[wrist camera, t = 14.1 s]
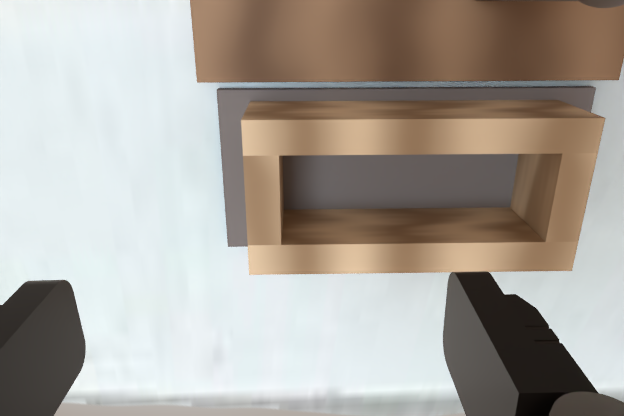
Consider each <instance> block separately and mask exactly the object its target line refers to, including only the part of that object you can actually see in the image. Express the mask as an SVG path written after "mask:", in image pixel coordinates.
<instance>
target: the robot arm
mask: <svg viewBox="0 0 624 416" xmlns="http://www.w3.org/2000/svg"><path fill="white" fill-rule="evenodd" d="M443 347H444V355H445V360H446V363H447V366H448V369H449V372H450V374H451V377H452V379H453V382H454V385H455V387H456V390H457V393H458V395H459V398H460V401H461V403H462V406H463V409H464V411H465V414H466V416H624V403H623V402H622V401H619V400H617V399H615V398H612V397H609V396H606V395H603V394H599V393H598V392H597V391H596V389H595V388H594V387H593V385H592V384H591V382H590V381H589V380H588V378H587V377H586V376H585V374H584V373H583V372H582V370H581V369H580V367H579V366H578V365H577V363H576V362H575V361H574V359H573V358H572V357H571V355H570V354H569V352H568V351H567V350H566V348H565V347H564V346H563V344H562V343H559V339H558V337H557V336H556V335H555V333H554V332H553V331H552V329H549V325H548V324H547V322H546V321H545V320H544V318H543V317H542V316H541V314H540V313H539V311H538V310H537V309H536V308H535V307H533V306H532V305H530V304H529V303H528V302H526V301H525V300H523V299H522V298H520V297H519V296H517V295H516V294H510V295H504V294H503V292H502V291H501V289H500V288H499V286H498V285H497V283H496V282H495V280H494V279H493V277H492V275H491V274H490V273H489V272H487V271H479V272H452V273H451V274H450V276H449V279H448V287H447V298H446V308H445V319H444V330H443ZM84 359H85V339H84V335H83V330H82V326H81V322H80V318H79V313H78V309H77V305H76V301H75V296H74V292H73V289H72V286H71V285H70V283H69V282H68V281H66V280H42V281H27V282H25V283H24V284H23V285H22V286H21V287H20V288H19V289H18V290H17V291H16V292H15V293H14V294H13V295H12V296H11V297H10V298H9V299H8V300H7V301H6V302H5V303H4V304H3V305H0V416H54V414H55V412H56V411H57V409H58V407H59V406H60V404H61V402H62V401H63V399H64V398H65V396H66V394H67V393H68V391H69V389H70V388H71V386H72V384H73V383H74V381H75V379H76V378H77V376H78V374H79V373H80V371H81V369H82V366H83V363H84Z"/></svg>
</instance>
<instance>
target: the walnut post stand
mask: <svg viewBox="0 0 624 416" xmlns="http://www.w3.org/2000/svg"><path fill="white" fill-rule="evenodd" d="M190 5H191V17H192V28H193V40H194V52H195V63H196V75H197V82H355V81H530V80H619V77H620V72H621V68H622V63H623V59H624V0H190Z"/></svg>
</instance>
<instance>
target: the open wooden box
mask: <svg viewBox="0 0 624 416" xmlns="http://www.w3.org/2000/svg"><path fill="white" fill-rule="evenodd" d="M604 122H605V118H604V117H601V116H599V115H596V114H593V113H591V112H588V111H586V110H583V109H580V108H578V107H575V106H572V105H570V104H567V103H565V102H562V101H559V100H420V101H250V103H249V105H248V107H247V109H246V111H245V113H244V115H243V117H242V119H241V129H242V148H243V166H244V185H245V203H246V222H247V241H248V259H249V275H262V274H342V273H423V272H479V271H487V272H504V271H572V267H573V263H574V258H575V254H576V249H577V245H578V240H579V236H580V231H581V226H582V222H583V217H584V213H585V208H586V204H587V199H588V195H589V190H590V185H591V181H592V176H593V172H594V167H595V163H596V158H597V154H598V149H599V144H600V140H601V135H602V131H603V126H604ZM420 154H519V155H518V162H517V168H516V174H515V181H514V187H513V193H512V199H511V206H510V207H506V208H402V209H298V210H284V198H283V155H420Z"/></svg>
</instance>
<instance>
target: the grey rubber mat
mask: <svg viewBox="0 0 624 416" xmlns="http://www.w3.org/2000/svg"><path fill="white" fill-rule="evenodd" d="M595 90H596V88H595V87H591V86H548V87H381V88H218V89H217V101H218V115H219V128H220V142H221V156H222V170H223V184H224V198H225V212H226V225H227V239H228V247H237V246H248V241H247V222H246V203H245V185H244V166H243V148H242V129H241V119H242V117H243V115H244V113H245V111H246V109H247V107H248V105H249V103H250V101H420V100H559V101H562V102H565V103H567V104H570V105H572V106H575V107H578V108H580V109H583V110H586V111H588V112H591V109H592V104H593V99H594V94H595ZM518 155H519V154H420V155H283V198H284V210H298V209H402V208H506V207H510V206H511V199H512V193H513V187H514V181H515V174H516V168H517V162H518Z"/></svg>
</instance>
